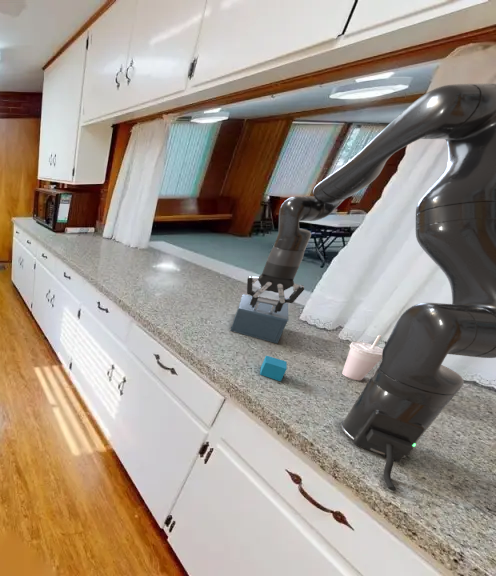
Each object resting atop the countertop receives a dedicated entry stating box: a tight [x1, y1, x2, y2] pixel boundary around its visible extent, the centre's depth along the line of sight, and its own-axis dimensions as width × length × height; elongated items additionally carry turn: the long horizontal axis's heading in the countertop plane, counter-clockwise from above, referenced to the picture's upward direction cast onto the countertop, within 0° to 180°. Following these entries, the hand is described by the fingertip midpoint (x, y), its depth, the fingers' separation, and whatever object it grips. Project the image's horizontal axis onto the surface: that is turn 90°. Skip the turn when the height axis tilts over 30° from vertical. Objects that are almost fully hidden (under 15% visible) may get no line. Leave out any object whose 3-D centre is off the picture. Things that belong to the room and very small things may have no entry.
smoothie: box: [341, 334, 383, 381], centre depth 81 cm, size 6×6×14 cm
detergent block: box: [259, 355, 288, 382], centre depth 84 cm, size 4×4×4 cm
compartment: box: [230, 299, 288, 344], centre depth 106 cm, size 15×13×9 cm
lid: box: [237, 293, 290, 323], centre depth 103 cm, size 15×13×6 cm
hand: (264, 309), depth 99 cm, fingers closed on lid, 5 cm apart
